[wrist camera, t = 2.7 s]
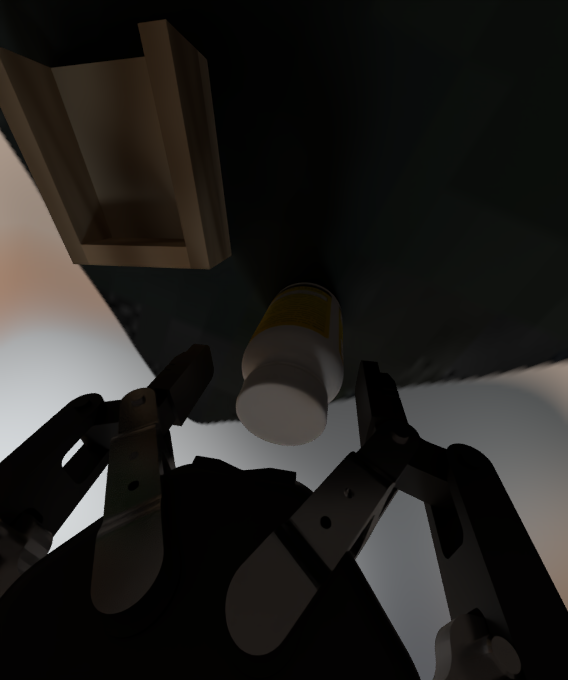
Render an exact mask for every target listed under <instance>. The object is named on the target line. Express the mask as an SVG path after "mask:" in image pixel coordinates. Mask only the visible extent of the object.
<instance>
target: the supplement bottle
mask: <svg viewBox="0 0 568 680" xmlns="http://www.w3.org/2000/svg"><path fill="white" fill-rule="evenodd" d="M242 373H243V377H244V380H245V381H244V383H243V386H242V389H241V391H240V393H239V395H238V398H237V401H236V412H237V415H238V417H239V419H240V421H241V422H242V424H243V425H244V426H245V427H246V428H247V429H248V430H249V431H250V432H251V433H253V434H254V435H255V436H257V437H259V438H261V439H263V440H265V441H268V442H271V443H274V444H279V445H286V446H295V445H302V444H306V443H309V442H311V441H313V440H315V439H316V438H317V437H319V436H320V435H321V433H322V432H323V430H324V429H325V426H326V422H327V411H328V403H329V402H331V401H332V400H333V399H334V398H335V396H336V395H337V394H338V392H339V390H340V388H341V385H342V381H343V323H342V311H341V307H340V305H339V302H338V301H337V299H336V297H335V296H334V295H333V294H332V293H331V292H330V291H329V290H327V289H326V288H324V287H322V286H320V285H318V284H314V283H308V282H301V283H295V284H292V285H289V286H287V287H286V288H284V289H283V290H281V291H280V292H279V293H278V294H277V295H276V297H275V298H274V299H273V301H272V302H271V304H270V306H269V308H268V310H267V311H266V313H265V315H264V317H263V319H262V320H261V322H260V324H259V326H258V327H257V329H256V331H255V333H254V335H253V336H252V338H251V340H250V342H249V344H248V346H247V348H246V350H245V352H244V355H243V359H242Z"/></svg>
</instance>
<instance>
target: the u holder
mask: <svg viewBox="0 0 568 680" xmlns="http://www.w3.org/2000/svg"><path fill="white" fill-rule="evenodd" d="M138 28H139V32H140V37H141V42H142V46H143V51H144V55H145V57H137V58H129V59H120V60H112V61H104V62H96V63H87V64H79V65H71V66H63V67H54V68H50V67H47V66H45V65H43V64H40V63H38V62H35V61H33V60H31V59H28V58H26V57H23V56H21V55H18V54H16V53H14V52H11V51H9V50H6V49H4V48H2V47H0V107H1V109H2V111H3V114H4V116H5V118H6V120H7V122H8V124H9V127H10V129H11V131H12V133H13V135H14V137H15V139H16V142H17V144H18V146H19V148H20V150H21V152H22V154H23V157H24V159H25V161H26V163H27V165H28V167H29V170H30V172H31V174H32V176H33V178H34V180H35V182H36V185H37V187H38V189H39V191H40V193H41V195H42V197H43V200H44V202H45V204H46V206H47V208H48V210H49V213H50V215H51V217H52V219H53V221H54V223H55V225H56V228H57V230H58V232H59V234H60V236H61V238H62V240H63V243H64V245H65V247H66V249H67V251H68V253H69V256H70V258H71V260H72V262H73V264H86V265H112V266H139V267H165V268H191V269H211V268H212V267H214V266H216V265H217V264H219V263H220V262H222V261H223V260H225V259H226V258H228V257H230V256H231V255H232V254H231V246H230V238H229V230H228V222H227V214H226V206H225V198H224V190H223V182H222V174H221V166H220V158H219V150H218V142H217V134H216V126H215V118H214V110H213V103H212V95H211V87H210V79H209V71H208V63H207V59H206V58H205V57H204V56H203V55H202V54H201V53H200V52H199V51H198V50H197V49H196V48H195V47H194V46H193V45H192V44H191V43H190V42H189V41H188V40H186V39H185V38H184V37H183V36H182V35H181V34H180V33H179V32H178V31H177V30H176V29H175V28H174V27H173V26H172V25H171V24H170V23H169V22H168V21H167V20H166V19H164V20H157V21H151V22H144V23H138Z"/></svg>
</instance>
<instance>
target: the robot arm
mask: <svg viewBox="0 0 568 680" xmlns="http://www.w3.org/2000/svg"><path fill="white" fill-rule="evenodd" d="M213 373H214V367H213V362H212V357H211V352H210V348H209V346H208V345H199V344H193V345H192V346H191V347H190V348H189V349H188V351H187V352H183V353H181V354H180V355H178V356H176V357H175V358H174V359H173V360H172V361H171V362H170V363H169V365H167V366H166V367H165V369H164V370H163V371H162V372H161V373H160V374H159V375H158V376H157V377H156V378H155V379H154V380H153V381H152V382H151V383H150V385H149V386H148V387H147V388H140V389H136V390H133V391H131V392H129V393H128V394H127V395H125V397H123V398H122V400H115V401H108V402H104V400H103V398H102V396H101V395H99V394H96V393H91V394H86V395H83V396H80V397H78V398H76V399H74V400H72V401H71V402H69V403H68V404H67V405H66V406H65V407H64V408H62V409H61V410H60V411H59V412H58V413H57V414H56V415H54V416H53V417H52V418H51V419H50V420H49V421H48V422H46V423H45V424H44V425H43V426H42V427H41V428H39V429H38V430H37V431H36V432H35V433H34V434H33V435H32V436H30V437H29V438H28V439H27V440H26V441H25V442H23V443H22V444H21V445H20V446H19V447H18V448H16V449H15V450H14V451H13V452H12V453H11V454H10V455H8V456H7V457H6V458H5V459H4V460H3V461H2V462H1V463H0V680H421V679H420V677H419V674H418V672H417V670H416V667H415V665H414V663H413V661H412V659H411V657H410V655H409V653H408V651H407V649H406V648H405V646H404V644H403V642H402V641H401V639H400V637H399V636H398V634H397V632H396V630H395V629H394V627H393V625H392V623H391V622H390V620H389V618H388V617H387V615H386V613H385V611H384V609H383V608H382V606H381V604H380V603H379V601H378V599H377V597H376V595H375V594H374V592H373V590H372V589H371V587H370V585H369V583H368V582H367V580H366V578H365V576H364V575H363V573H362V571H361V569H360V568H359V566H358V564H357V563H356V561H355V559H356V558H357V556H358V555H359V553H360V551H361V550H362V548H363V546H364V545H365V544H366V542H367V540H368V538H369V537H370V535H371V533H372V532H373V530H374V528H375V526H376V524H377V523H378V521H379V519H380V518H381V516H382V515H383V513H384V511H385V510H386V508H387V507H388V505H389V503H390V502H391V501H392V499H393V498H394V496H395V494H396V493H397V491H398V490H401V491H403V492H405V493H407V494H409V495H411V496H413V497H416V498H417V499H419V500H421V501H423V502H424V504H425V509H426V513H427V517H428V522H429V526H430V530H431V533H432V534H431V535H432V539H433V543H434V547H435V551H436V556H437V560H438V564H439V569H440V573H441V578H442V582H443V586H444V591H445V595H446V599H447V603H448V608H449V612H450V616H451V622H449V623H448V624H446V625H445V626H443V627H442V628H441V629H440V630H439V631H438V634H437V636H436V640H435V654H436V670H435V675H434V678H433V680H568V611H567V609H566V607H565V605H564V603H563V601H562V599H561V597H560V595H559V593H558V591H557V589H556V588H555V585H554V583H553V582H552V580H551V578H550V576H549V574H548V572H547V570H546V568H545V566H544V564H543V562H542V560H541V558H540V556H539V554H538V552H537V550H536V549H535V546H534V544H533V543H532V541H531V539H530V537H529V535H528V533H527V531H526V529H525V527H524V525H523V523H522V521H521V519H520V517H519V515H518V513H517V511H516V509H515V508H514V505H513V503H512V501H511V500H510V498H509V496H508V494H507V492H506V490H505V488H504V486H503V484H502V482H501V480H500V478H499V476H498V474H497V472H496V470H495V468H494V466H493V465H492V463H491V462H490V460H489V459H488V458H487V457H486V456H485V455H484V454H482V453H481V452H480V451H478V450H476V449H475V448H473V447H471V446H468V445H465V444H452V445H450V446H449V447H448V448H447V449H445V448H442V447H440V446H437V445H434V444H432V443H429V442H427V441H425V440H423V439H422V438H420V436H419V434H418V432H417V431H416V430H415V429H414V428H413V427H412V426H411V425H409V424H408V422H407V419H406V415H405V412H404V409H403V406H402V403H401V400H400V398H399V394H398V391H397V387H396V384H395V381H394V380H393V379H392V378H391V376H390V375H389V374H388V373H380V370H379V367H378V363H377V362H372V361H361V362H360V367H359V371H358V376H357V381H356V388H355V398H356V406H357V416H358V426H359V434H360V444H361V448H360V450H359V451H358V452H356V453H355V452H354V451H353V452H351V453H349V454H348V455H347V456H346V458H344V460H343V461H342V462H341V463H340V464H339V465H338V466H337V467H336V468H335V469H334V471H333V472H332V473H331V474H330V475H329V476H328V477H327V478H326V479H325V480H324V481H323V483H322V484H321V485H320V486H319V487H318V488H317V489H316V490H315V491H314V492H312V491H311V490H310V489H309V488H308V487H306V486H305V485H303V484H302V483H300V482H297V481H296V472H292V471H286V470H280V469H274V468H264V469H253V470H241V469H238V468H236V467H234V466H232V465H230V464H228V463H226V462H224V461H222V460H219V459H214V458H208V457H201V456H196V457H195V459H194V461H193V463H192V464H187V465H183V466H180V467H177V468H176V467H175V462H174V455H173V448H172V442H171V435H170V431H169V429H170V427H171V426H172V425H177V426H182V425H183V423H184V421H185V420H186V418H187V417H188V415H189V414H190V412H191V410H192V409H193V407H194V406H195V404H196V403H197V401H198V399H199V398H200V396H201V395H202V393H203V392H204V390H205V389H206V387H207V385H208V384H209V382H210V381H211V379H212V377H213ZM80 438H81V440H82V441H83V443H84V444H83V446H82V447H81V448H80V449H79V450H78V451H77V452H76V453H75V454H74V456H73V457H72V458H71V459H70V460H69V461H68V462H67V463H66V464H65V466H64V467H63V468H62V460H63V458H64V456H65V454H66V453H67V452H68V451H69V450H70V449H71V448H72V447H73V446H74V444H75V443H77V441H78V440H79V439H80ZM107 465H108V473H107V484H106V494H105V505H104V516H103V517H101V518H100V519H98V520H97V521H95V522H94V523H92V524H91V525H89V526H88V527H87V528H85V529H84V530H82V531H81V532H79V533H78V534H76V535H75V536H74V537H72V538H71V539H69V540H68V541H66V542H65V543H63V544H62V545H60V546H59V547H58V548H56V549H55V550H53V551H52V552H50V553H49V554H47V553H48V552H49V550H50V547H51V545H52V541H53V537H54V535H55V534H56V532H57V531H58V530H59V529H60V527H61V526H62V525H63V523H64V522H65V521H66V519H67V518H68V517H69V515H70V514H71V513H72V511H73V510H74V509H75V507H76V506H77V505H78V503H79V502H80V501H81V499H82V498H83V497H84V495H85V494H86V493H87V491H88V490H89V488H90V487H91V486H92V485H93V483H94V482H95V481H96V479H97V478H98V477H99V475H100V474H101V473H102V471H103V470H104V469H105V467H106V466H107Z"/></svg>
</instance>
